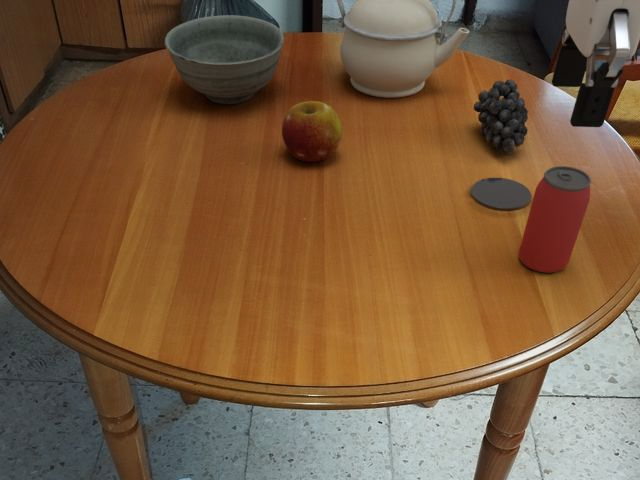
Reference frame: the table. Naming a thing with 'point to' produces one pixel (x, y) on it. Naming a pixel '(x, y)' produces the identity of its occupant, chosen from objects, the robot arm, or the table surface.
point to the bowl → (226, 55)
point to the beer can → (555, 219)
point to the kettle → (394, 45)
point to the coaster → (501, 194)
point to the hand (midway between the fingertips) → (575, 104)
